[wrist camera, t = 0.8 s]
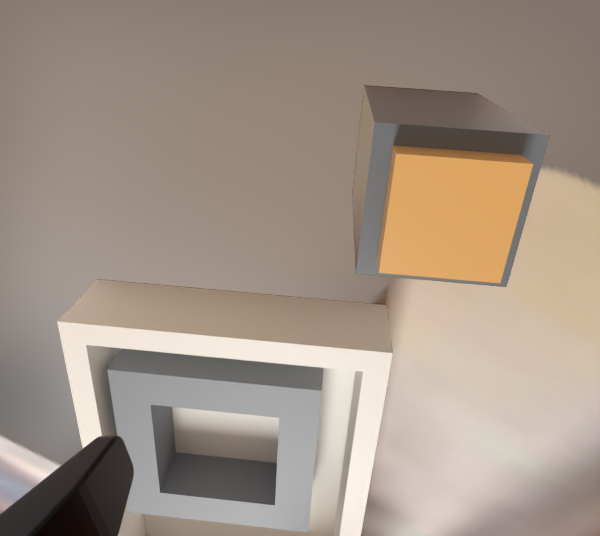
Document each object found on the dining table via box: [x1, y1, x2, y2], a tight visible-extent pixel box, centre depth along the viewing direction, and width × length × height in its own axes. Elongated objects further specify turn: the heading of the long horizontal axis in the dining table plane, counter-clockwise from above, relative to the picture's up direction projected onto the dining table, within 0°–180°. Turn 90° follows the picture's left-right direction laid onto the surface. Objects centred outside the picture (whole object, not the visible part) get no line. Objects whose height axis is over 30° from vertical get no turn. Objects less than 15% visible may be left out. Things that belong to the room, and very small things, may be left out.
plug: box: [352, 85, 549, 287], centre depth 15 cm, size 4×4×8 cm
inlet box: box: [57, 279, 393, 536], centre depth 24 cm, size 13×18×4 cm
